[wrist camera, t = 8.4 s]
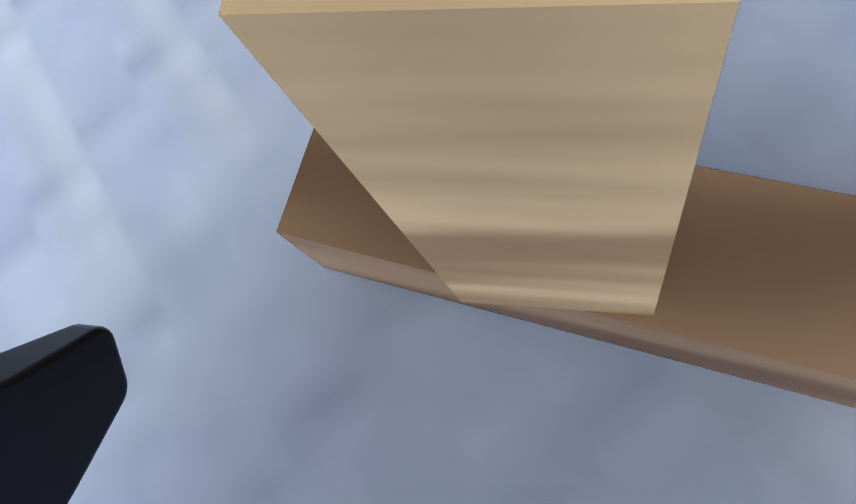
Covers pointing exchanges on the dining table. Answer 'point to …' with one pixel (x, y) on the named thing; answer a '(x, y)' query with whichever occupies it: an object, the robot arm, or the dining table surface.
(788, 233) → the brown wooden bar
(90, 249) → the dining table surface
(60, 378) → the robot arm
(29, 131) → the dining table surface
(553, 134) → the oak post
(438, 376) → the dining table surface
